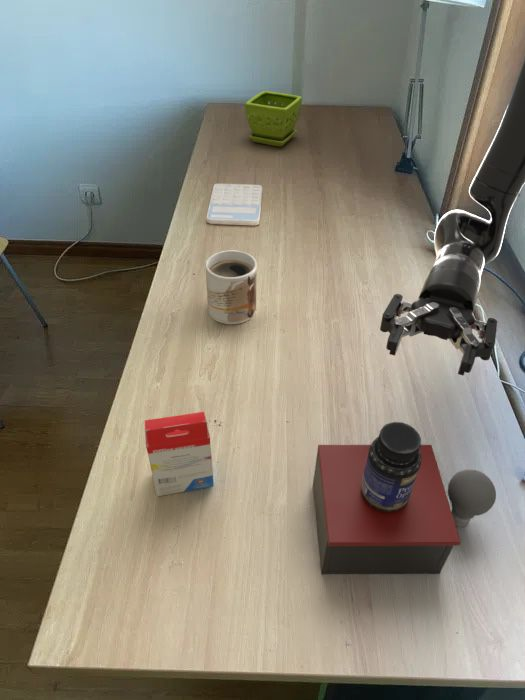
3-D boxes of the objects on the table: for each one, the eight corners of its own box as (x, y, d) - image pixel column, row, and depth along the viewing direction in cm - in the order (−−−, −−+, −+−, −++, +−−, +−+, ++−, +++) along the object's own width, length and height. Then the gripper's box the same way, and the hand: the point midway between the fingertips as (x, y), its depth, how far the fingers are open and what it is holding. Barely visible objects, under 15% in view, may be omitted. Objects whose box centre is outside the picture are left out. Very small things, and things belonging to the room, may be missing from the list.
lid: (458, 545, 67) (460, 542, 66) (328, 546, 67) (329, 542, 66) (430, 448, 78) (431, 444, 77) (317, 448, 77) (318, 444, 77)
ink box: (209, 461, 86) (204, 395, 76) (214, 488, 83) (209, 422, 73) (153, 470, 85) (141, 404, 75) (155, 498, 81) (143, 432, 71)
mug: (198, 301, 116) (195, 255, 109) (249, 285, 121) (249, 240, 113) (221, 330, 109) (219, 283, 102) (274, 312, 114) (276, 266, 107)
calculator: (262, 190, 154) (262, 183, 153) (259, 226, 140) (259, 219, 138) (214, 188, 155) (213, 181, 153) (205, 224, 140) (205, 217, 138)
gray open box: (440, 573, 74) (456, 539, 68) (321, 574, 73) (327, 539, 67) (417, 485, 84) (430, 448, 78) (312, 485, 83) (317, 448, 77)
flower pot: (300, 136, 184) (303, 95, 175) (284, 151, 174) (286, 109, 166) (261, 129, 188) (262, 88, 179) (243, 143, 178) (243, 102, 170)
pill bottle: (398, 522, 68) (417, 468, 61) (352, 500, 70) (364, 444, 63) (415, 485, 72) (434, 430, 65) (370, 465, 74) (384, 409, 67)
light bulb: (478, 506, 81) (499, 464, 74) (481, 544, 77) (504, 502, 70) (436, 498, 82) (453, 456, 75) (437, 535, 78) (455, 493, 71)
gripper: (406, 256, 80) (375, 320, 69) (510, 280, 76) (496, 353, 65) (396, 299, 85) (366, 365, 74) (494, 324, 81) (478, 398, 70)
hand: (427, 359), depth 69 cm, fingers open, 8 cm apart
